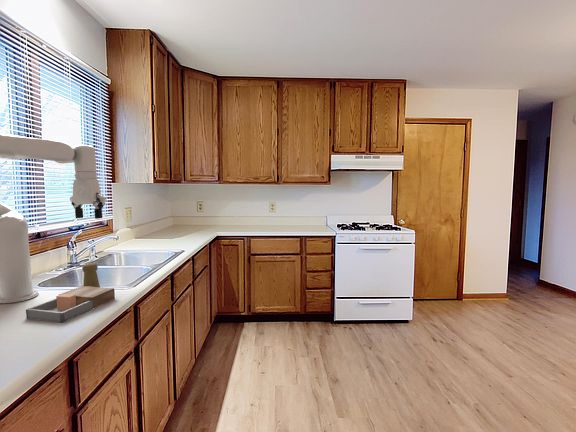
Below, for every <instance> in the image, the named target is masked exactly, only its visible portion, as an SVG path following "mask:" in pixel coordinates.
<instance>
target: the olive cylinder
mask: <svg viewBox="0 0 576 432" xmlns="http://www.w3.org/2000/svg"><path fill="white" fill-rule="evenodd" d="M97 271H98V263H95V262H88V263H85V264H84V265H82V272H83V274H84V275H83V284H82V286H91V287H101V286H100V282H99V281H100V280H99V277H98V272H97Z"/></svg>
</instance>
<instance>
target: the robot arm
mask: <svg viewBox="0 0 576 432" xmlns="http://www.w3.org/2000/svg"><path fill="white" fill-rule="evenodd" d="M96 157H97V156H96V149H95V147H94V146H92V145H90V144H89V145H88V144H87V145H86V144H78V145H77V144H76V145H75V146H74V145H71V144H69V143H67V142H64V141H60V140H59V141H58V140H53V139H46V138H45V139H44V138H37V137H36V138H35V137H27V136H23V135H22V136H20V135H14V134H13V135H12V134H6V133H5V134H4V133H0V159H7V160H8V159H10V160H29V159H30V160H41V161H50V162H51V161H52V162H55V163H58V164H61V165H63V164H72V163H73V165H74V178H75V179H74V180H73V184H72V196H71V197H69V200H70V204H71V205H72V206H73V209H74V211H75V212H74V215H75V219H83V218H84V209H83V205H92V206H93V207H94V211H93V212H94V219H96V220H98V219H103V208H104V206H105V205H106V201H107V197H105V196H104V195H102V194H101V187H100V183H99V180H98V177H97V176H98V175H97V161H96V160H97V159H96ZM29 240H30V239H29V227H28V220H27V219H26V217H25V216H24V215H23V214H21V213H20V212H18V211H16V210H14V209H13V208H11V207H9V206H8V205H6V204H5V203H3V202H2V201H0V304H11V303H20V302H24V301H28V300H31V299H33V298H36V297H38V295H39V291H38V290H36V289H34V285H33V274H32V264H31V253H30V252H31V251H30V241H29Z"/></svg>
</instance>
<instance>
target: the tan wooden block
mask: <svg viewBox="0 0 576 432" xmlns="http://www.w3.org/2000/svg"><path fill="white" fill-rule="evenodd" d="M61 294H72V295H76V306H78V305H80V304H82V303H85V302H87V301H90V300H92V303H93V308H94V309H96V308H99V307H100V305H101V306H102V304H103V305H105V304H107V303H110V302H112V301H114V300H115V299H116V295H115V288H114V287H103V286H100V287H91V286H83V285H82V286H78V287H76V288H73V289H70V290H67V291H65V292H62V293H60V294H59V293H58V295H61Z"/></svg>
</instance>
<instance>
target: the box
mask: <svg viewBox="0 0 576 432" xmlns="http://www.w3.org/2000/svg"><path fill="white" fill-rule="evenodd" d="M91 310H93V303H92V300H90V301H87V302H85V303H82V304H80V305H78V306H75V307H73V308H70V309H68V310H66V311H57V300H56V298H53V299H51V300H48V301H45V302H43V303H39V304H37V305H34V306H32V307H31V306H30V307H29V308H27V309H25V318H26V319H27V320H36V321H43V322H44V321H45V322H51V323H52V322H53V323H62V324H63V323H65V322H68V321H69V320H71V319H73V318H76V317H79V316H80V315H83V314H85V313H86V312H89V311H91Z"/></svg>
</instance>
